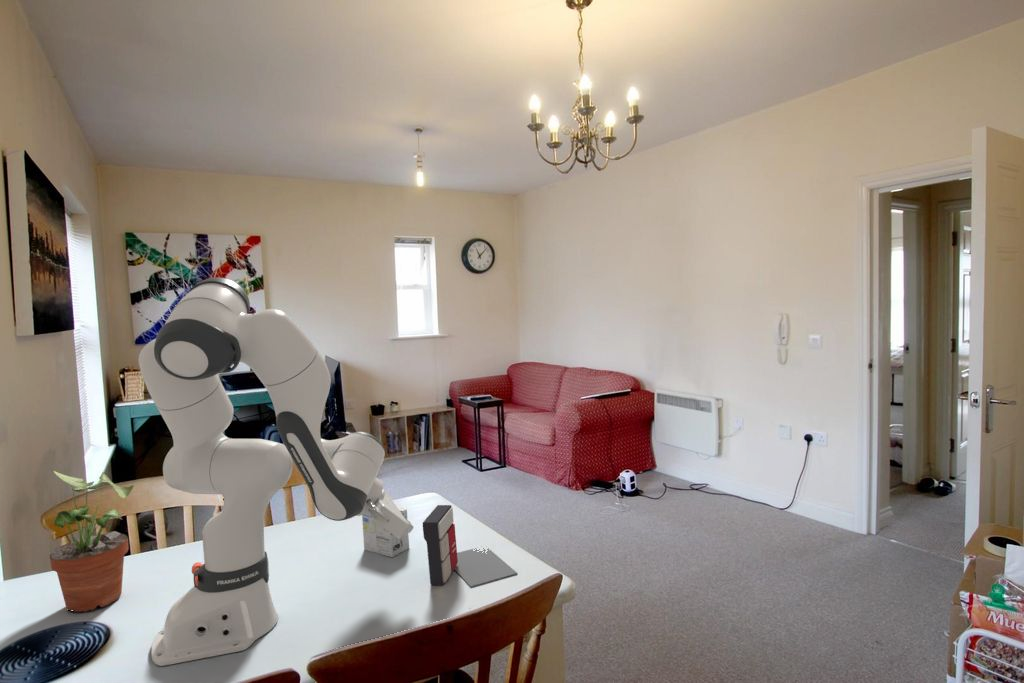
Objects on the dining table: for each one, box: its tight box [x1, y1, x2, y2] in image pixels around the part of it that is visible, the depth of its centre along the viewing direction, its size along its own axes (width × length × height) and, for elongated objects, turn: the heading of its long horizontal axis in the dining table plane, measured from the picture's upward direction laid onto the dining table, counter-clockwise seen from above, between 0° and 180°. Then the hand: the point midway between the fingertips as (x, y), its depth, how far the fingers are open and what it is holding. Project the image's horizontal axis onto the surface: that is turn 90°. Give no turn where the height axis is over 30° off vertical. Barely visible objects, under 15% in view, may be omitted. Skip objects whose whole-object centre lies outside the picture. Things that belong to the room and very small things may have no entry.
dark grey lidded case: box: [422, 504, 458, 586], centre depth 135 cm, size 11×4×15 cm, turn 168°
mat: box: [453, 547, 518, 588], centre depth 140 cm, size 12×18×1 cm, turn 28°
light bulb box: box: [361, 507, 410, 558], centre depth 151 cm, size 11×7×11 cm, turn 58°
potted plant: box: [49, 468, 134, 612], centre depth 128 cm, size 16×15×35 cm
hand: (410, 528), depth 130 cm, fingers closed
